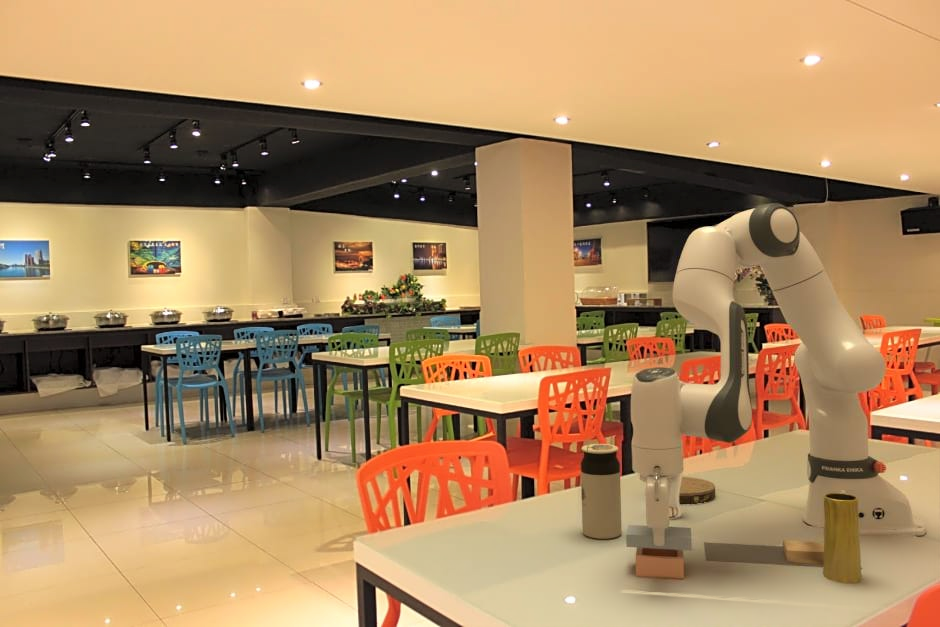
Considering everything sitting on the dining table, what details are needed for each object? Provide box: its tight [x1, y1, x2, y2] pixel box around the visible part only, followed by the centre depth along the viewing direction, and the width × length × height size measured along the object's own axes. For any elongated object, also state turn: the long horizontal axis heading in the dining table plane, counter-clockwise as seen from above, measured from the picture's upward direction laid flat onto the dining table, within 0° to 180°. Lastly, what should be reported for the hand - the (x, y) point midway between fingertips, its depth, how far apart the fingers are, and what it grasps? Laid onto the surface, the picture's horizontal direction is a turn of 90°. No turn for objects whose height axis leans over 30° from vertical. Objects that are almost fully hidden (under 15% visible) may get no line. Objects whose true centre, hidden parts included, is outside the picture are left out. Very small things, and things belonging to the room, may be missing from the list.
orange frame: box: [635, 547, 685, 580], centre depth 135 cm, size 8×8×4 cm
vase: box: [822, 493, 863, 584], centre depth 130 cm, size 6×6×14 cm
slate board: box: [625, 524, 693, 551], centre depth 135 cm, size 11×6×2 cm, turn 75°
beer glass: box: [669, 471, 684, 520], centre depth 169 cm, size 7×7×15 cm
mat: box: [703, 541, 863, 570], centre depth 141 cm, size 26×10×1 cm, turn 75°
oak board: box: [782, 540, 824, 564], centre depth 138 cm, size 11×6×2 cm, turn 75°
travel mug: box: [580, 443, 623, 540], centre depth 158 cm, size 8×8×18 cm
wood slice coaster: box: [679, 476, 716, 506], centre depth 185 cm, size 16×16×3 cm
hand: (659, 538), depth 135 cm, fingers closed on slate board, 5 cm apart
